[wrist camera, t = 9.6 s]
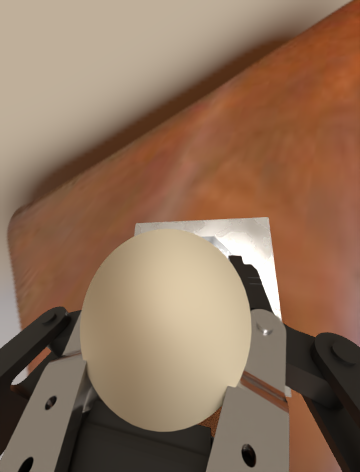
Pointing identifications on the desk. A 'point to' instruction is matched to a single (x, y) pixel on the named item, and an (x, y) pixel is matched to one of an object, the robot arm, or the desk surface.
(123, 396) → the cream rounded cylinder
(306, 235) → the desk surface
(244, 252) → the socket plate
